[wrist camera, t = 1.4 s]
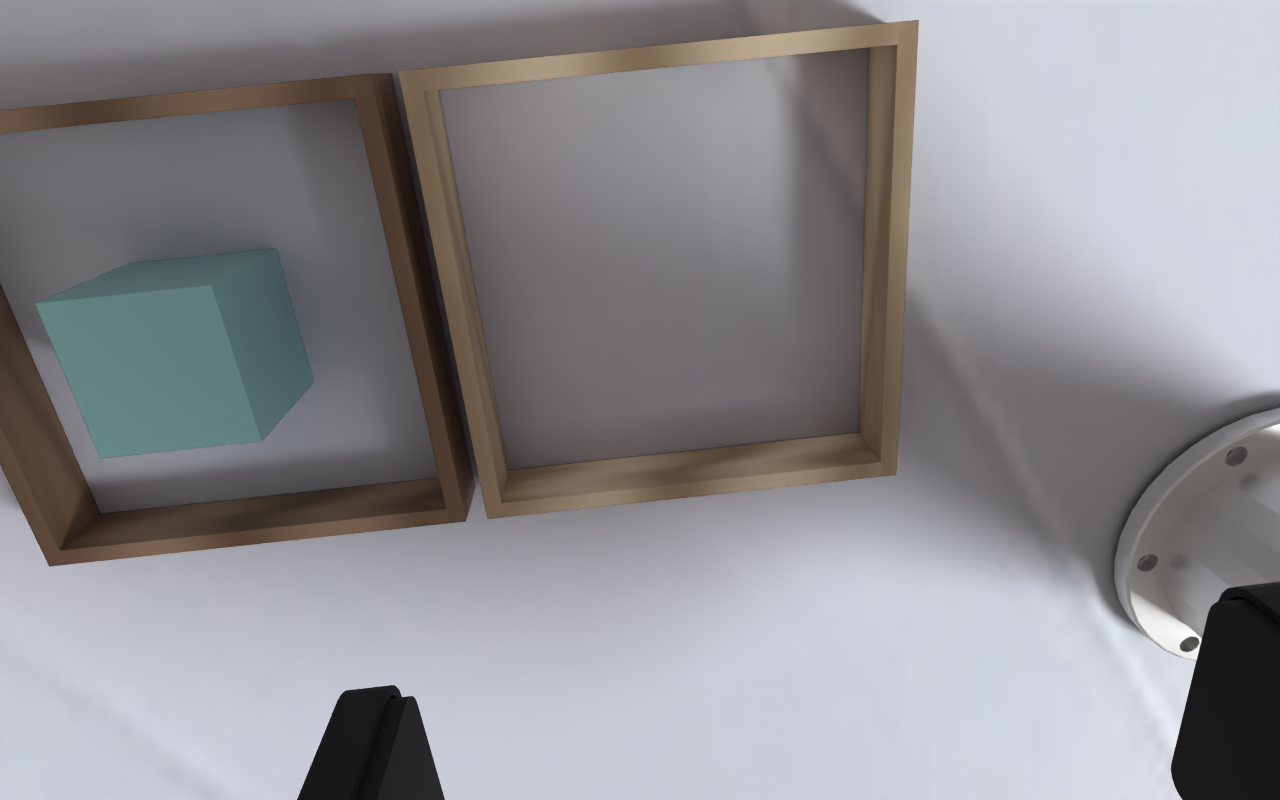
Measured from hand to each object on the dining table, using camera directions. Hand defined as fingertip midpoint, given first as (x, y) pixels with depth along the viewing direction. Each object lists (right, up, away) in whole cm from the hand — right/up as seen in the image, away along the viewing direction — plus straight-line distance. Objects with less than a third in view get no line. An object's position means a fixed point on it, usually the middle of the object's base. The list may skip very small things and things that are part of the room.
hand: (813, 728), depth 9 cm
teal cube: (-17, +7, +18) cm, 26 cm away
